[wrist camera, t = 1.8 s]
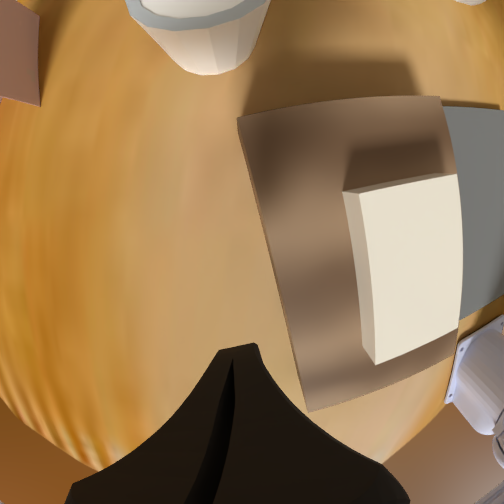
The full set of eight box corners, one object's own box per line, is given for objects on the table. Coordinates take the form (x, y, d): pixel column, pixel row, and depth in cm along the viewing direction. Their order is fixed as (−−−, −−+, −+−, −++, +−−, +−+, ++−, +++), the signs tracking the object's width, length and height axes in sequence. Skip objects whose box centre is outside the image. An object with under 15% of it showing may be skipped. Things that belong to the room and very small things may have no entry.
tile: (440, 314, 15) (457, 327, 13) (362, 346, 15) (375, 365, 13) (434, 173, 12) (457, 174, 10) (342, 191, 13) (358, 193, 11)
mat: (510, 285, 19) (514, 287, 19) (433, 328, 20) (436, 332, 19) (499, 111, 15) (503, 110, 14) (411, 107, 15) (415, 106, 14)
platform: (428, 330, 20) (453, 354, 16) (298, 377, 20) (308, 412, 16) (406, 108, 15) (439, 96, 11) (238, 132, 15) (236, 117, 12)
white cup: (148, 79, 14) (102, 33, 7) (178, 3, 13) (155, -56, 6) (253, 92, 15) (260, 38, 8) (274, 12, 13) (288, -52, 6)
